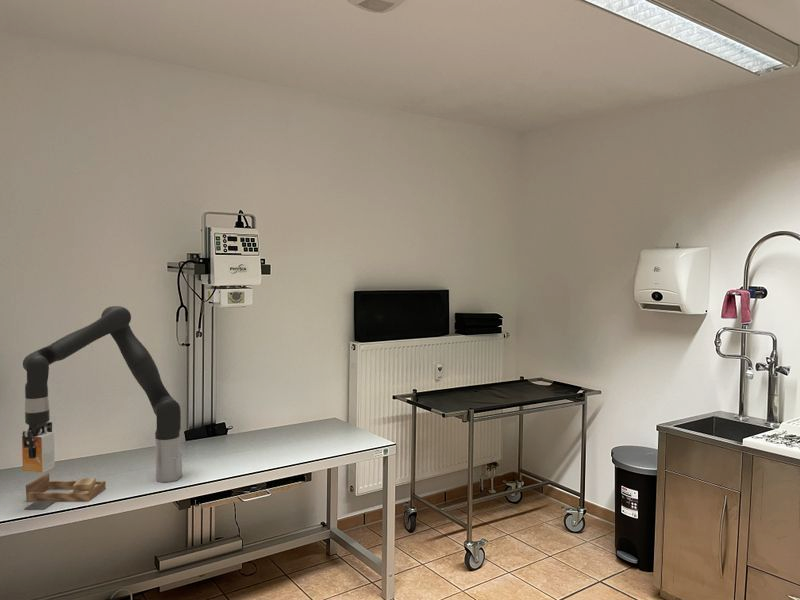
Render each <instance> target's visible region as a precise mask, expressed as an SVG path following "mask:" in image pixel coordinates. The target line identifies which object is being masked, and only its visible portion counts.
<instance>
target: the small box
mask: <svg viewBox="0 0 800 600" xmlns="http://www.w3.org/2000/svg"><path fill="white" fill-rule="evenodd" d="M54 434H55V432H54V431H52V432H46V433H42V434H40V435H39V436H32V439H37V441H36V447H35V448H36V458H29V453H28V448H24V445H23V435H22V436H21V446H22V448H21V449H22V450H21V453H22V458H21V459H22V471H23V472H29V473H30V472H32V473H40V474H41V473H42V474H43V473H45V472H47V471H50V470H51V469H53V468H55V466H56V465H55V464H56V462H55V461H56V460H55V459H56V457H55V455H56V454H55V435H54ZM33 442H34V441H32V444H33ZM27 444H28V441H27Z"/></svg>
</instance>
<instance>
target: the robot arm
mask: <svg viewBox="0 0 800 600" xmlns="http://www.w3.org/2000/svg"><path fill="white" fill-rule="evenodd" d="M101 312H102V313H101V316H100V318H98V319H97V320H95V321H94V322H92V323H90V324H89V325H87V326H84V327H82V328H80V329H77V330H75V331H73V332H71V333H68V334H67V335H65V336H63V337H61V338H59V339H57V340H56V341H54V342H52V343H51V344H48V345H47V346H45V347H42V348H40V349H36V350H35V351H33V352H31V353H29V354H28V355H26V356H25V357H24V359H23V360H22V367H23V369H24V370H25V372H26V383H25V385H24V395H25V396H24V397H25V398H24V399H25V400H24V420H25V421H24V422H25V424H26V425H28V429H27V430H23V431H22V436H23V445H24V448H28V453H29V458H36V448H35V447H36V441H37V439H32V436H39V435H40V434H42V433H46V432H53V422H51V421H50V419H51V418H50V417H51V416H50V400H49V388H48V386H49V385H48V380H49V372H50V365H52V364H54V363H56V362H60V361H63V360H65V359H67V358H69V357H70V356H72V355H74V354H75V353H77V352H79V351H80V350H81V349H84V348H86V347H87V346H89V345H91V344H92V343H93V342H96V341H97V340H99V339H101V338H103V337H105V336H108V335H110V336H111V337H112V339H113V340H114V342H115V343H116V345H117V347H118V349H119V352H120V353H121V356H122V358H123V359H124V361H125V363H126V365H127V367H128V369H129V371H130V372H131V374H132V376H133V377H134V379H135V380H136V382H137V383H138V384H139V386H140V388H141V389H142V390H143V391H144V392H145V394H146V396H147V399H148V400H149V403H150V405H151V407H152V410H153V413H154V415H155V416H156V429H155V433H154V434H155V437H154V438H155V479H156V480H155V481H157V482H160V483H170V482H176V481H178V480H179V479H180V478H181V477H182V476H183V457H182V455H183V454H182V453H181V450H180V449H181V448H180V446H181V445H180V443H181V442H180V441H181V440H180V439H181V438H180V437H181V435H180V432H181V429H182V427H181V424H182V422H181V421H182V419H181V418H182V416H181V414H182V413H181V406H180V404H179V402H178V401H176V400H175V399H174V398H173V396H172V395H171V394H170V393H169V391H168V390H167V388H166V387H165V386H164V384H163V383H164V382H163V381H162V378H161V375H160V374H161V373H160V372H159V370H158V367H157V365H156V362H155V360H154V358H153V357H152V355H151V354H150V352H149V351H148V349H147V348H146V347H145V346H144V344H143V343H142V342H141V341H140V340H139V339H138V338H137V337H136V335H135V334H134V332H133V330H132V328H131V326H130V323H131V320H132V314H131V312H130V311H129V309H127V308H126V307H125V306H119V305H115V306H114V305H113V306H108V307H106V308H105V309H103V311H101ZM27 441H28V444H27ZM32 441H34V442H33V444H32Z"/></svg>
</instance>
